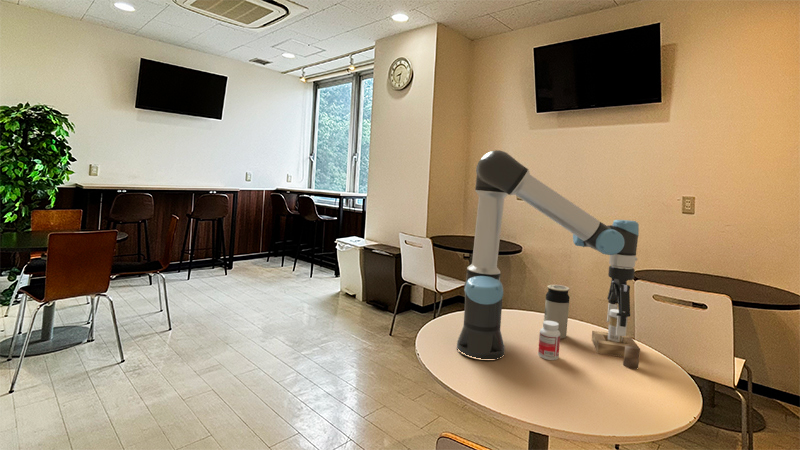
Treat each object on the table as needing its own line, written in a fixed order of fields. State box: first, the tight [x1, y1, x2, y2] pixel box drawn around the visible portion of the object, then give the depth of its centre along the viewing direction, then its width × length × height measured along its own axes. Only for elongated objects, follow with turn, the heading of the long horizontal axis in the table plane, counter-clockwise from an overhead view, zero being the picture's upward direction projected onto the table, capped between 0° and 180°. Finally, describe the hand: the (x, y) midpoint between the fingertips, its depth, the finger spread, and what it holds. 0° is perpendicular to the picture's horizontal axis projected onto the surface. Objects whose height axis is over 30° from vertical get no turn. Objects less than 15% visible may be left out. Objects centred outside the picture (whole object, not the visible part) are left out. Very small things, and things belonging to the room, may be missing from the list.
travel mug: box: [543, 284, 571, 340], centre depth 146 cm, size 8×8×18 cm
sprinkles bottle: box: [607, 308, 623, 343], centre depth 135 cm, size 5×5×14 cm
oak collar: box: [591, 330, 639, 358], centre depth 136 cm, size 12×12×4 cm
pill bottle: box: [537, 320, 561, 361], centre depth 127 cm, size 6×6×11 cm
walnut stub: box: [622, 345, 641, 370], centre depth 123 cm, size 4×4×6 cm
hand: (615, 328), depth 135 cm, fingers open, 13 cm apart
